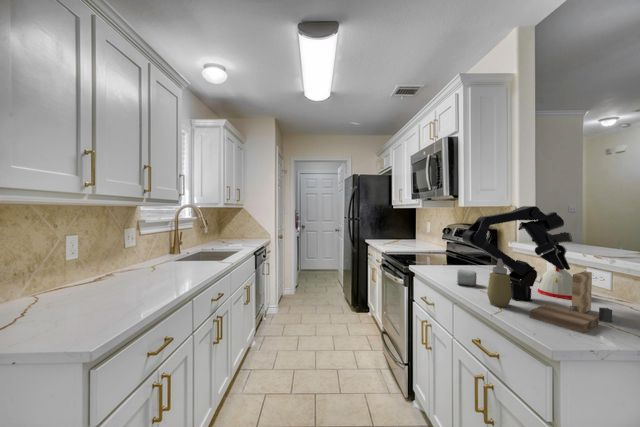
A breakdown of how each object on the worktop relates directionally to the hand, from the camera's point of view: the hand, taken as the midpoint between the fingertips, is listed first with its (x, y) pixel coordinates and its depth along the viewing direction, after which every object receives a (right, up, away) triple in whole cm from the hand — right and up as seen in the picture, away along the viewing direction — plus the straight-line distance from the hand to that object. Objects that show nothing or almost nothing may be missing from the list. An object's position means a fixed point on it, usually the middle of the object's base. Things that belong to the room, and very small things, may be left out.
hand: (565, 269), depth 107 cm
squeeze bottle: (-24, -14, +3) cm, 28 cm away
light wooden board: (0, -14, -5) cm, 15 cm away
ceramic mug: (-22, -14, +32) cm, 41 cm away
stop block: (+3, -15, -12) cm, 19 cm away
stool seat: (-12, -15, -13) cm, 23 cm away
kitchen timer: (+11, -14, +17) cm, 25 cm away
